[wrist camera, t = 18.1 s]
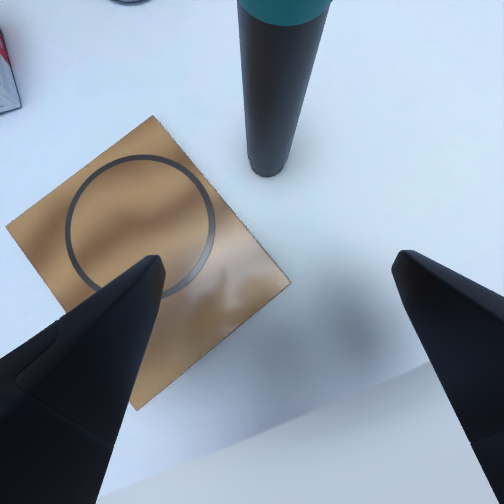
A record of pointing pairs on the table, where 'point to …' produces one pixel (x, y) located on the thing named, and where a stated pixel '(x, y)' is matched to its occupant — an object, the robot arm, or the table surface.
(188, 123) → the table surface
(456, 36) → the table surface
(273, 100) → the disc
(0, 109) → the ink box
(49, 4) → the table surface
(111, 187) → the sketch board
